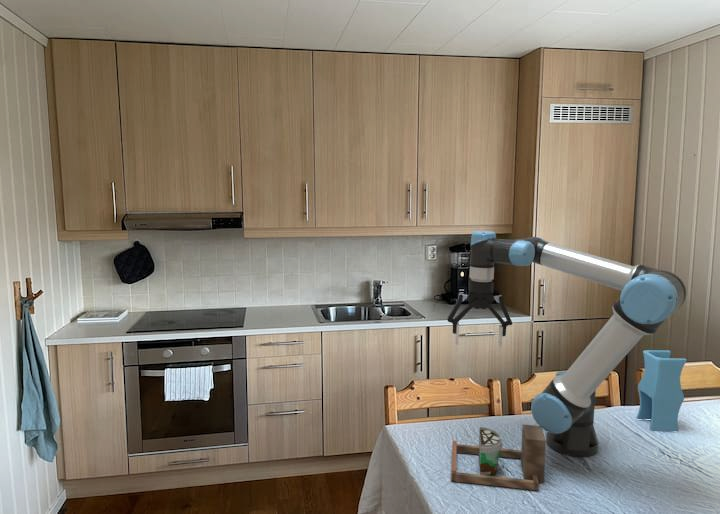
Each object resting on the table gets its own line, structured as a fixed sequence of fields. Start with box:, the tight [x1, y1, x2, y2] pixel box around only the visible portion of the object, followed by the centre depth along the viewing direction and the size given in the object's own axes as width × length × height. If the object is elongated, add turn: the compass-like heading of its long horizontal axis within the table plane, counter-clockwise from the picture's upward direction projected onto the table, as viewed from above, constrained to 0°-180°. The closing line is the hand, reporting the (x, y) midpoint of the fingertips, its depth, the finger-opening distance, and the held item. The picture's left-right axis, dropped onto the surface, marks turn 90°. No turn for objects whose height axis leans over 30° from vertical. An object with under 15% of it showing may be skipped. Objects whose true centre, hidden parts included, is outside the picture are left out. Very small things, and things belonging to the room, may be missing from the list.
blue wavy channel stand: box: [635, 349, 687, 432], centre depth 174 cm, size 10×10×25 cm
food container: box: [478, 426, 503, 476], centre depth 146 cm, size 12×6×10 cm, turn 169°
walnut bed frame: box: [450, 424, 547, 491], centre depth 145 cm, size 25×17×12 cm
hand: (478, 344), depth 165 cm, fingers open, 13 cm apart
